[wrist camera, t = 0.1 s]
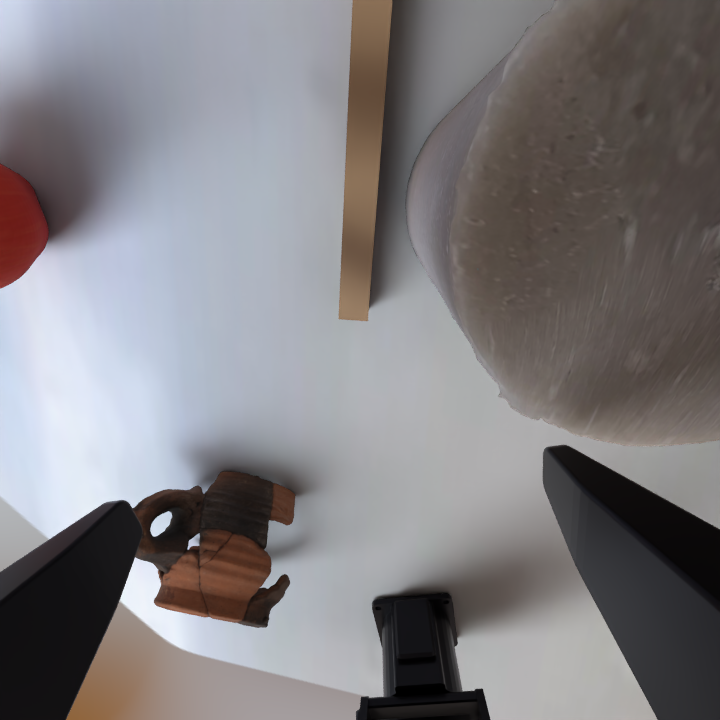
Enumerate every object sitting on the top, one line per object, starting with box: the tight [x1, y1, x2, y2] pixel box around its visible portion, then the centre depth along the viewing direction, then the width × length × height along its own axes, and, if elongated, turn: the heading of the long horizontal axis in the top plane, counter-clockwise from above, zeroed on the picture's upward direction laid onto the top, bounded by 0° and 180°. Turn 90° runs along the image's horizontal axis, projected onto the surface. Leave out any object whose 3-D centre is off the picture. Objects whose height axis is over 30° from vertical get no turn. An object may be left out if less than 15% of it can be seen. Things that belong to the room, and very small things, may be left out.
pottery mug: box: [132, 472, 295, 628], centre depth 26 cm, size 12×10×8 cm
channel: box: [339, 0, 392, 321], centre depth 16 cm, size 19×15×4 cm
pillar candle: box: [406, 0, 720, 446], centre depth 13 cm, size 10×10×15 cm
